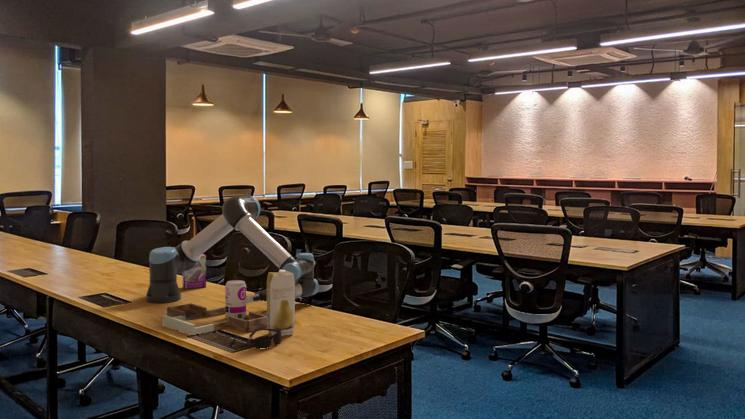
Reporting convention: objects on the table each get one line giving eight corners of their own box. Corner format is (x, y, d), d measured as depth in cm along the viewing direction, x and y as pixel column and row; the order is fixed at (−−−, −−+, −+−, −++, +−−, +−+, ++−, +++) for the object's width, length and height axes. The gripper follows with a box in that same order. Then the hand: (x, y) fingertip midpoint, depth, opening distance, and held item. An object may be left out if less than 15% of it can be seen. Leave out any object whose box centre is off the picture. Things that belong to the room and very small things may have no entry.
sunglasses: (259, 352, 201) (259, 338, 201) (226, 344, 210) (226, 330, 210) (286, 343, 213) (286, 329, 213) (253, 335, 221) (253, 322, 221)
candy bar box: (183, 289, 300) (183, 256, 298) (182, 287, 304) (181, 255, 303) (206, 287, 304) (206, 255, 303) (204, 285, 309) (204, 254, 308)
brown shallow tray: (223, 306, 265) (223, 297, 265) (285, 322, 239) (285, 312, 238) (167, 317, 245) (167, 307, 245) (227, 337, 218) (227, 326, 218)
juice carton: (271, 338, 217) (272, 272, 216) (265, 332, 224) (265, 268, 223) (296, 335, 222) (296, 270, 220) (289, 329, 229) (289, 267, 227)
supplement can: (250, 317, 247) (250, 281, 245) (236, 321, 239) (236, 284, 238) (234, 314, 250) (234, 279, 249) (221, 319, 243) (221, 282, 242)
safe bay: (183, 321, 239) (183, 311, 239) (213, 331, 226) (213, 320, 225) (162, 325, 232) (162, 315, 232) (192, 336, 219) (192, 325, 218)
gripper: (299, 302, 261) (255, 311, 243) (279, 297, 269) (235, 306, 252) (299, 284, 260) (255, 293, 243) (279, 280, 269) (235, 288, 251)
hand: (245, 299), depth 247 cm, fingers closed
